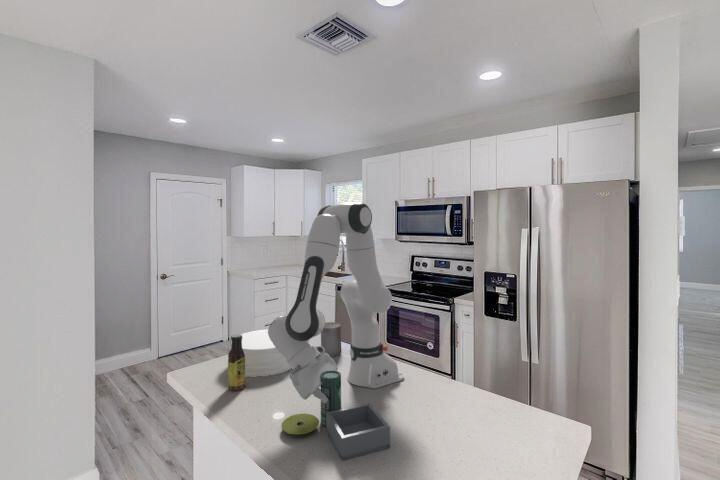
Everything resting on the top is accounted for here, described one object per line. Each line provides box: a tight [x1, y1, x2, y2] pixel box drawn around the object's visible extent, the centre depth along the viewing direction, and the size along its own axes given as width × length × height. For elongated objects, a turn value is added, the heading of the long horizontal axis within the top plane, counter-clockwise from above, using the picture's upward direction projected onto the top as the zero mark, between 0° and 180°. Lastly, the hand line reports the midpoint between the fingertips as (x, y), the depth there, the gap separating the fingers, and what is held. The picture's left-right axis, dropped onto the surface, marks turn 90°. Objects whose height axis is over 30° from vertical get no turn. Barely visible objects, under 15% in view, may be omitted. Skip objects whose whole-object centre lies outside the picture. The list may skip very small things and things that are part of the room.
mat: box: [281, 413, 320, 436], centre depth 108 cm, size 11×11×2 cm
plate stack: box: [230, 328, 292, 378], centre depth 159 cm, size 28×28×12 cm
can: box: [320, 370, 342, 427], centre depth 112 cm, size 6×6×15 cm
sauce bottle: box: [227, 334, 246, 391], centre depth 135 cm, size 7×6×20 cm
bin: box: [326, 402, 391, 462], centre depth 102 cm, size 14×14×6 cm
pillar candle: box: [320, 321, 342, 357], centre depth 171 cm, size 10×10×15 cm
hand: (332, 395), depth 111 cm, fingers closed on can, 6 cm apart
